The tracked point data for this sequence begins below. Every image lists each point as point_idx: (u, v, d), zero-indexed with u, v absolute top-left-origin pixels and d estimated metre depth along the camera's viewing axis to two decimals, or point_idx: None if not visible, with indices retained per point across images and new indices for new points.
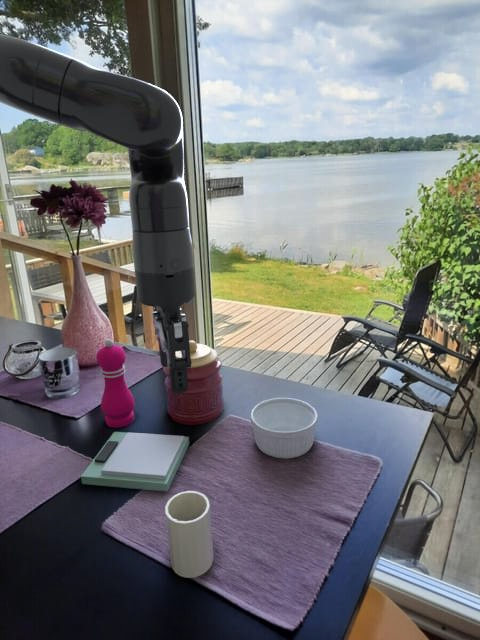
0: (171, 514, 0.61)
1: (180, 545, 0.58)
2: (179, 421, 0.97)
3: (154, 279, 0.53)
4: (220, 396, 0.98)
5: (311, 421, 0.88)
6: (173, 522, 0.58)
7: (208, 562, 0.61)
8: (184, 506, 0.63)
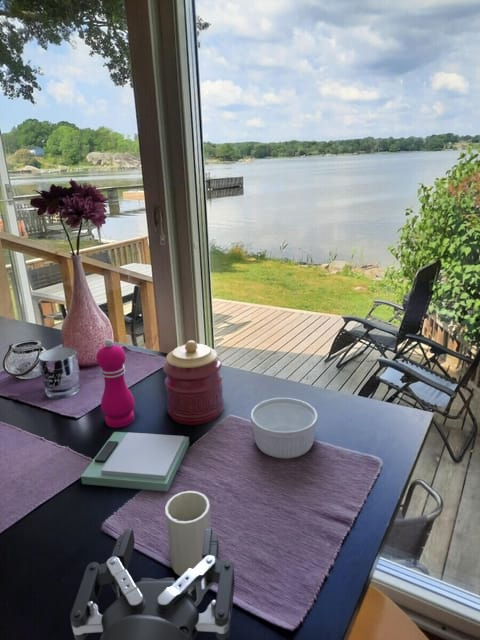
0: (171, 514, 0.61)
1: (180, 545, 0.58)
2: (179, 421, 0.97)
3: None
4: (220, 396, 0.98)
5: (311, 421, 0.88)
6: (173, 522, 0.58)
7: None
8: (184, 506, 0.63)
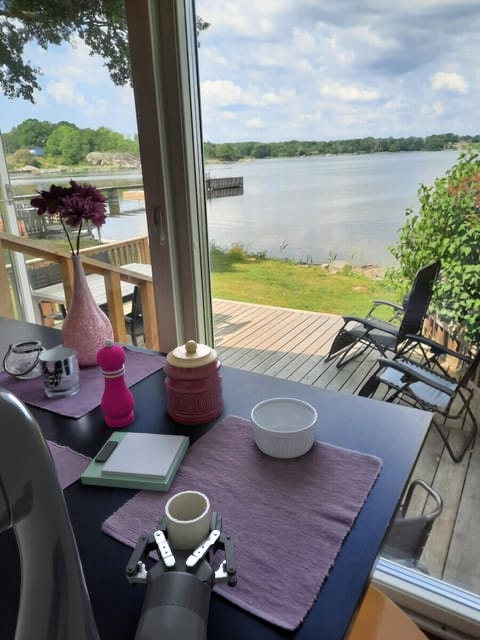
0: (171, 514, 0.61)
1: (180, 545, 0.58)
2: (179, 421, 0.97)
3: (142, 611, 0.48)
4: (220, 396, 0.98)
5: (311, 421, 0.88)
6: (173, 522, 0.58)
7: None
8: (184, 506, 0.63)
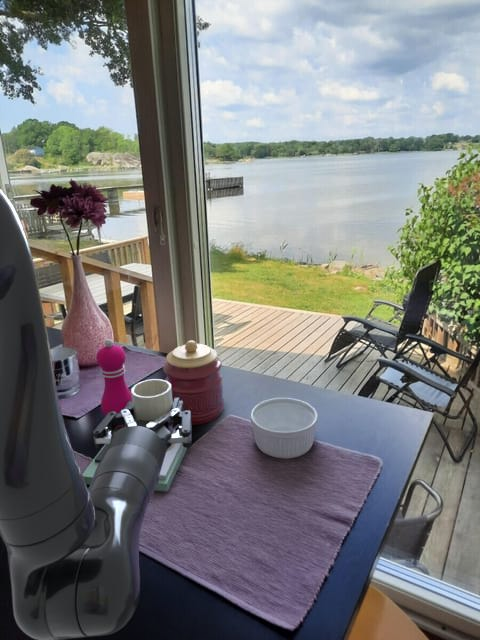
0: None
1: (144, 420, 0.66)
2: None
3: None
4: (220, 396, 0.98)
5: (311, 421, 0.88)
6: (137, 397, 0.65)
7: None
8: (150, 393, 0.70)
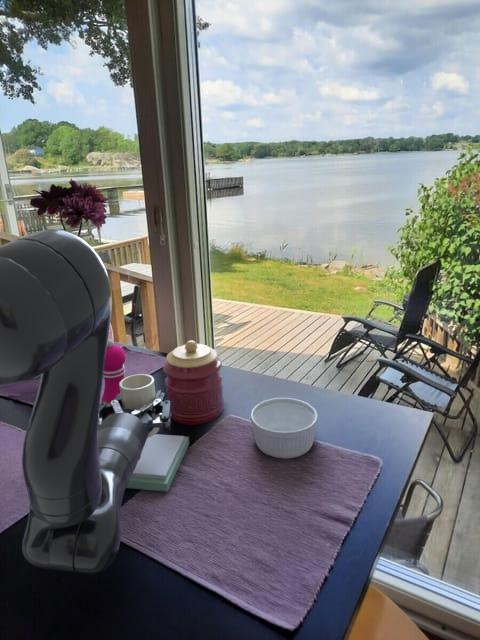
0: None
1: (130, 408, 0.77)
2: (179, 421, 0.97)
3: None
4: (220, 396, 0.98)
5: (311, 421, 0.88)
6: (124, 389, 0.76)
7: None
8: (136, 386, 0.81)
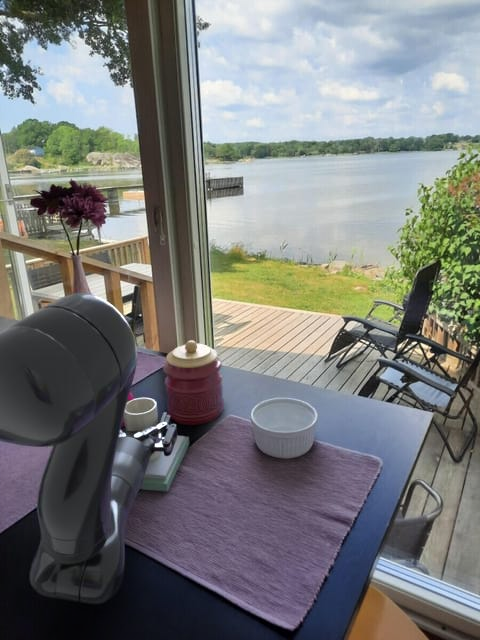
0: None
1: None
2: (179, 421, 0.97)
3: None
4: (220, 396, 0.98)
5: (311, 421, 0.88)
6: (128, 414, 0.77)
7: None
8: (139, 409, 0.83)
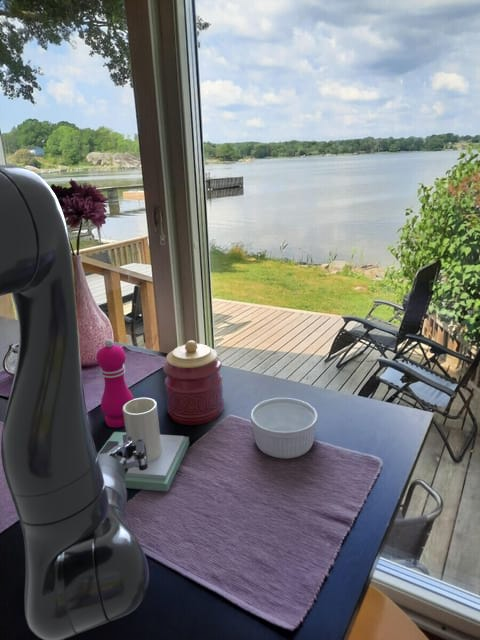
0: None
1: (133, 433, 0.78)
2: (179, 421, 0.97)
3: None
4: (220, 396, 0.98)
5: (311, 421, 0.88)
6: (128, 414, 0.77)
7: (156, 449, 0.81)
8: (139, 409, 0.83)
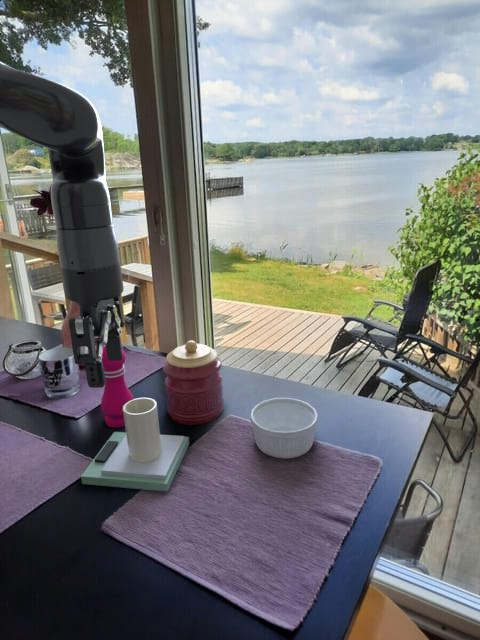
0: None
1: (133, 433, 0.78)
2: (179, 421, 0.97)
3: (68, 275, 0.55)
4: (220, 396, 0.98)
5: (311, 421, 0.88)
6: (128, 414, 0.77)
7: (156, 449, 0.81)
8: (139, 409, 0.83)
